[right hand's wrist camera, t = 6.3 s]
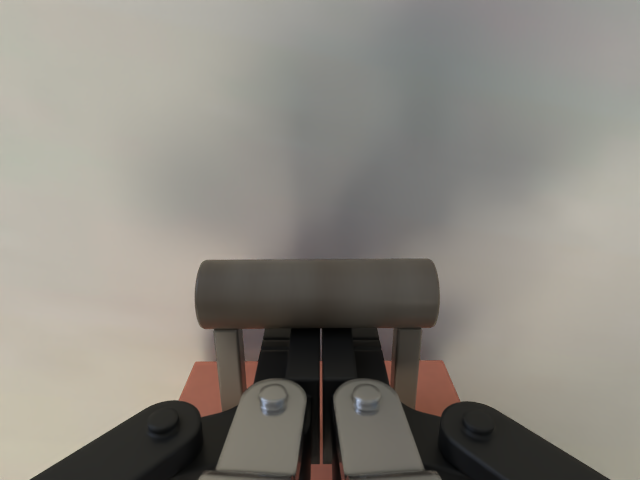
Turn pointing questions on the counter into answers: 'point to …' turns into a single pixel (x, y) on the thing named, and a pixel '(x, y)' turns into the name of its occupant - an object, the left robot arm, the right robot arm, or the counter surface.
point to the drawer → (317, 323)
